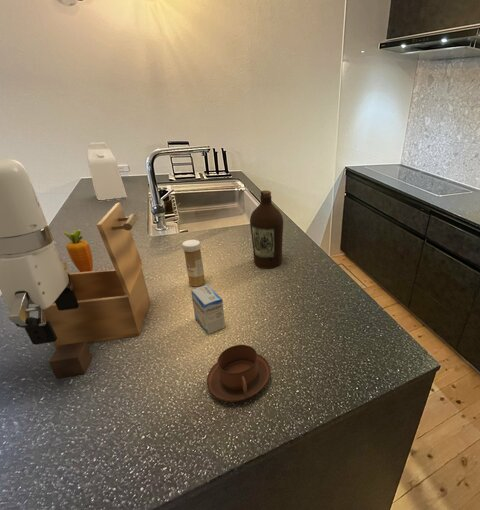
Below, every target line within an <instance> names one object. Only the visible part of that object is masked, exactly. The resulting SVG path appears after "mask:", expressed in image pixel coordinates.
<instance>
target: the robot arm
mask: <svg viewBox="0 0 480 510" xmlns="http://www.w3.org/2000/svg"><path fill="white" fill-rule="evenodd" d="M55 243H56V242H55V240H54V237H53V234H52V232H51V229H50V227H49V224H48V222H47V219H46V217H45V214H44V211H43V208H42V207H41V204H40V201H39V198H38V196H37V193H36V191H35V188H34V186H33V184H32V181H31V178H30V176H29V174H28V171H27V169H26V167H24V165H23V164H22V163H21V162H20V161H18V160H15V159H13V158H7V157H0V293H1V295H2V298H3V301H4V302H5V304H6V307H7V308H8V310H9V314H8V320H9V321H10V322H12V323H13V324H14V325H15V326H16V327H18V328H21V329H22V330H25V332H26V334H27V336H28V338H29V340H30V341H31V343H32V345H35V346H36V345H43V344H49V343H53V342H55V341H56V340H57V336H56V334H55V332H54V330H53V328H52V325H51V323H50V321H48V322H46V309H47V308H49V307H50V306H51V305H52V304H53V303H54V301H55V303H56V306H57V308H58V310H60V311H61V310H69V309H77V308H78V307H79V304H78V302H77V299H76V297H75V294H74V292H73V290H72V288H73V285H72V284H71V283H70V275H69V274H68V273H69V268H68V264H67V262H64V261H63V259H62V257H61V255H60V253H59V251H58V250H57V247H56V246H55ZM30 305H36V306H30ZM38 305H39V306H38ZM33 312H37V317H34V316H33V317H32V316H31V317H30V314H31V313H33Z"/></svg>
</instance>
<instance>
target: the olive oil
mask: <svg viewBox="0 0 480 510" xmlns="http://www.w3.org/2000/svg"><path fill="white" fill-rule="evenodd" d="M249 227H250V234H251V242H252V250H253V251H252V253H253V262H254V265H255V266H256V267H258V268H261V269H274V268H277V267H279V266H280V265H282V262H283V240H284V239H283V237H284V236H283V235H284V218H283V215H282V213H281V211H280V210H279V209H278V208H277V207H276V206H275V205H274V204H273V203H272V192H271V191H270V190H261V191H260V204H259V205H257V207H256V208H254V210H253V211H252V212H251V214H250V217H249Z"/></svg>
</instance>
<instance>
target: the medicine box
mask: <svg viewBox="0 0 480 510" xmlns="http://www.w3.org/2000/svg"><path fill="white" fill-rule="evenodd" d="M190 293H191V294H190V295H191V300H192V306H193V313H194V319H195V320H196V321H197V322H198V324H199V325H200V326H201V328H202V329H203V330H204V331H205V332H206V333H207V335H210V334H212V333H215V332H217V331H220V330H222V329H224V328H226V318H225V311H224V301H223V299H222V297H220V295H219V294H218V293H217V292H216V291H215V290H213V288H212V287H211V286H210V285H209V284H207V285H202V286H198V287H197V288H194V289H191V290H190Z"/></svg>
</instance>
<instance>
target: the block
mask: <svg viewBox="0 0 480 510" xmlns="http://www.w3.org/2000/svg"><path fill="white" fill-rule="evenodd" d="M92 360H93V355H92V353H91V350H90V347H89V345H88V343H87V342H86V341H85V342H78V343H72V344H65V345H59V346H58V348H55V350H54V352H53V353H52V356H51V357H50V359H49V360H48V364H49V367H50V368H51V370H52V373H53V374H54V377H55V378H56V379H57V380H58V379H63V378H71V377H75V376H81V375H85V374H86V372H87V370H88V368H89V366H90V364H91V362H92Z"/></svg>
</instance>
